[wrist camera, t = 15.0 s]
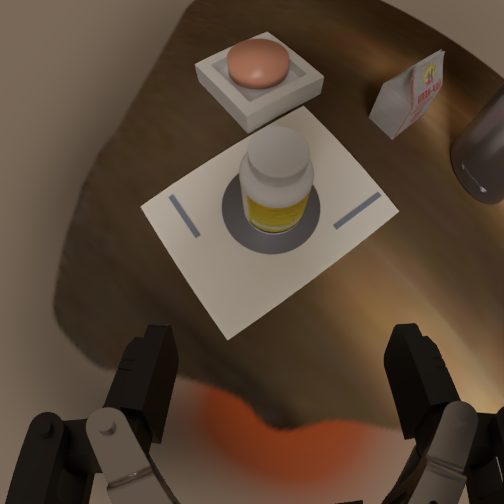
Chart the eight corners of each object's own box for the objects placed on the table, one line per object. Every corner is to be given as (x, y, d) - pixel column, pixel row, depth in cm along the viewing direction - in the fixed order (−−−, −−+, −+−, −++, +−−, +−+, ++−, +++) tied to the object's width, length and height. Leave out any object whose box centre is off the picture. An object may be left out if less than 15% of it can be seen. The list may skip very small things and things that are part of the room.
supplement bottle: (313, 221, 29) (336, 169, 19) (259, 246, 28) (257, 202, 19) (286, 172, 30) (295, 107, 21) (234, 194, 30) (222, 134, 20)
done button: (264, 44, 32) (264, 32, 30) (300, 74, 30) (301, 61, 28) (217, 66, 31) (215, 53, 29) (250, 98, 30) (250, 85, 28)
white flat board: (303, 107, 33) (303, 104, 32) (397, 212, 29) (399, 210, 29) (141, 207, 30) (139, 205, 30) (227, 340, 27) (227, 340, 27)
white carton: (368, 117, 32) (395, 55, 22) (400, 95, 33) (429, 38, 23) (392, 140, 31) (427, 81, 22) (422, 115, 32) (457, 61, 23)
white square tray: (267, 48, 35) (267, 31, 32) (320, 94, 33) (324, 76, 30) (198, 81, 34) (194, 64, 31) (247, 133, 32) (246, 116, 29)
